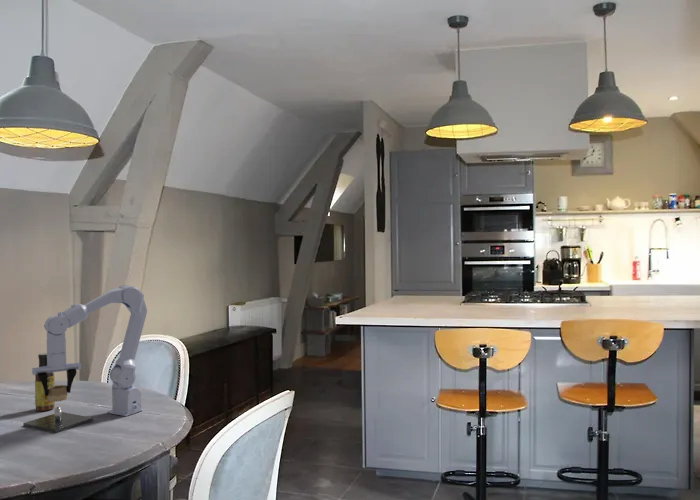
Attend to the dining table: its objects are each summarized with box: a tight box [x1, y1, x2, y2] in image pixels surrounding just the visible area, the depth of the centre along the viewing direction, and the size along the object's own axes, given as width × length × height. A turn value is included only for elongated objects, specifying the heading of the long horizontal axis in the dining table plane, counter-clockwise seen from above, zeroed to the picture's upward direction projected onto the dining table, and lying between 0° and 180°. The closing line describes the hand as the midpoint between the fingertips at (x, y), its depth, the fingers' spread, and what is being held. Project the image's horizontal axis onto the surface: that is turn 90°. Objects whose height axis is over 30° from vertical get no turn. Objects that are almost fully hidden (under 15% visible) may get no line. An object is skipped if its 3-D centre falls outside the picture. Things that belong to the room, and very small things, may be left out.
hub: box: [22, 406, 94, 434], centre depth 207 cm, size 16×14×5 cm
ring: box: [48, 384, 69, 402], centre depth 207 cm, size 6×6×4 cm
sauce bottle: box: [34, 352, 55, 412], centre depth 224 cm, size 6×6×20 cm
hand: (57, 393), depth 207 cm, fingers closed on ring, 6 cm apart
